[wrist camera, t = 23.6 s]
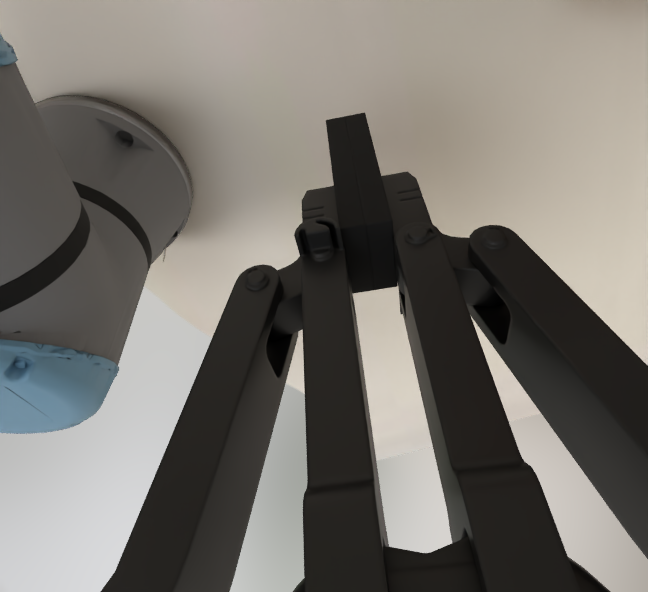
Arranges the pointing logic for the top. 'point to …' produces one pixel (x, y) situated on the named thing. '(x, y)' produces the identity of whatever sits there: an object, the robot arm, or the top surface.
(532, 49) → the top surface
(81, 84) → the top surface
